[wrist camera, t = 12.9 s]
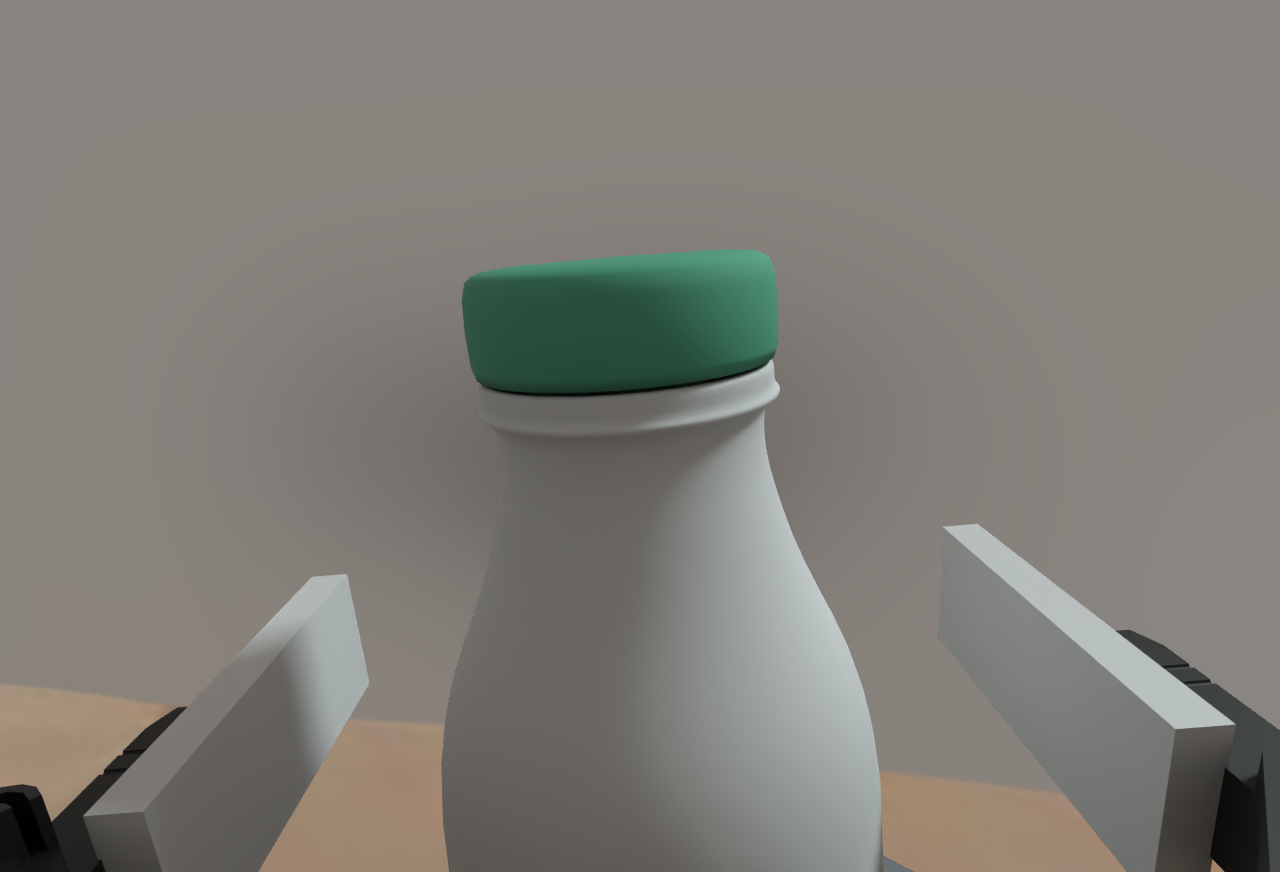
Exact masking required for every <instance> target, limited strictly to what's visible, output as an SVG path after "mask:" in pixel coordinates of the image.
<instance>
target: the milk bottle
mask: <svg viewBox="0 0 1280 872" xmlns="http://www.w3.org/2000/svg"><path fill="white" fill-rule="evenodd" d="M462 307H463V319H464V329H465V338H466V343H467V349H468V354H469V360H470V365H471V369H472V371H473V373H474V375H475V378H476V380H477V382H479V383H480V386H479V395H480V406H479V408H478V410H477V416H478V418H479V420H480V421H481V422H482V423H483V424H484V425H486V426H488V427H490V428H492V429H493V430H494V431H495V434H496V437H497V441H498V447H499V453H500V467H501V477H500V493H499V502H498V510H497V517H496V524H495V531H494V537H493V542H492V547H491V552H490V557H489V562H488V566H487V570H486V574H485V578H484V582H483V585H482V589H481V592H480V595H479V598H478V601H477V604H476V607H475V610H474V613H473V616H472V619H471V623H470V626H469V628H468V632H467V634H466V637H465V640H464V643H463V647H462V650H461V654H460V657H459V661H458V664H457V668H456V671H455V675H454V678H453V682H452V686H451V691H450V697H449V702H448V708H447V714H446V720H445V729H444V741H443V753H442V800H443V826H444V834H445V841H446V849H447V856H448V864H449V872H884V871H883V844H882V818H881V792H880V776H879V769H878V762H877V755H876V749H875V741H874V734H873V729H872V724H871V719H870V715H869V711H868V707H867V703H866V699H865V695H864V691H863V687H862V685H861V682H860V679H859V676H858V673H857V670H856V668H855V665H854V662H853V659H852V657H851V654H850V651H849V648H848V646H847V644H846V642H845V639H844V637H843V635H842V633H841V631H840V629H839V627H838V625H837V623H836V621H835V619H834V616H833V615H832V613H831V611H830V609H829V607H828V605H827V604H826V602H825V600H824V598H823V596H822V594H821V592H820V590H819V588H818V586H817V584H816V583H815V581H814V579H813V577H812V575H811V573H810V571H809V569H808V567H807V565H806V563H805V561H804V559H803V557H802V555H801V552H800V550H799V548H798V546H797V544H796V542H795V539H794V537H793V535H792V532H791V529H790V527H789V524H788V521H787V519H786V516H785V514H784V511H783V508H782V505H781V502H780V499H779V496H778V493H777V490H776V486H775V483H774V480H773V476H772V473H771V470H770V466H769V461H768V456H767V452H766V445H765V436H764V414H765V408H766V406H767V405H769V404H770V403H771V402H773V401H774V400H775V398H776V397H777V396H778V394H779V391H780V387H779V385H778V383H777V382H776V381H775V379H774V364H773V362H772V358H773V357H774V355H775V351H776V348H777V343H778V304H777V289H776V276H775V272H774V269H773V266H772V262H771V259H770V258H769V257H768V256H767V255H765V254H764V253H761V252H758V251H754V250H710V251H694V252H680V253H665V254H649V255H635V256H619V257H608V258H597V259H587V260H577V261H566V262H556V263H546V264H535V265H524V266H515V267H506V268H500V269H495V270H489V271H484V272H480V273H478V274H476V275H473V276H471V277H470V278H469V279H468V280H467V281H466V282H465V283H464V289H463V296H462Z"/></svg>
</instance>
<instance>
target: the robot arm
mask: <svg viewBox="0 0 1280 872" xmlns="http://www.w3.org/2000/svg"><path fill="white" fill-rule="evenodd" d="M939 608H940V609H939V631H938V638H939V640H940V641H941V642H942V643H943V645H944V646H945V647H946V648H947V650H948V651H949V652H950V653H951V654H952V656H953V657H954V658H955V659H956V660H957V662H958V663H959V664H960V666H961V667H962V668H963V669H964V671H965V672H966V673H967V674H968V675H969V677H970V678H971V679H972V680H973V682H974V683H975V684H976V685H977V687H978V688H979V689H980V690H981V691H982V693H983V694H984V695H985V697H986V698H987V699H988V700H989V702H990V703H991V704H992V705H993V706H994V708H995V709H996V710H997V711H998V712H999V714H1000V715H1001V716H1002V717H1003V719H1004V720H1005V721H1006V722H1007V723H1008V725H1009V726H1010V727H1011V729H1012V730H1013V731H1014V732H1015V734H1016V735H1017V736H1018V737H1019V739H1020V740H1021V741H1022V742H1023V744H1024V745H1025V746H1026V747H1027V748H1028V750H1029V751H1030V752H1031V753H1032V755H1033V756H1034V757H1035V758H1036V760H1037V761H1038V762H1039V763H1040V765H1041V766H1042V767H1043V768H1044V770H1045V771H1046V772H1047V773H1048V774H1049V776H1050V777H1051V778H1052V779H1053V781H1054V782H1055V783H1056V784H1057V785H1058V787H1059V788H1060V789H1061V791H1062V792H1063V793H1064V794H1065V796H1066V797H1067V798H1068V799H1069V800H1070V802H1071V803H1072V804H1073V805H1074V807H1075V808H1076V809H1077V810H1078V812H1079V813H1080V814H1081V815H1082V817H1083V818H1084V819H1085V820H1086V821H1087V823H1088V824H1089V825H1090V826H1091V828H1092V829H1093V830H1094V831H1095V833H1096V834H1097V835H1098V836H1099V838H1100V839H1101V840H1102V841H1103V842H1104V844H1105V845H1106V846H1107V847H1108V849H1109V850H1110V851H1111V852H1112V854H1113V855H1114V856H1115V857H1116V859H1117V860H1118V861H1119V862H1120V864H1121V865H1122V866H1123V867H1124V868H1125V870H1126V871H1127V872H1210V870H1211V864H1212V859H1213V860H1214V861H1215V862H1216V863H1217V864H1218V865H1219V866H1220V867H1221V868H1222V869H1223V870H1224V871H1225V872H1280V730H1278V729H1277V728H1276V727H1274V726H1273V725H1272V724H1270V723H1269V722H1267V721H1266V720H1265V719H1263V718H1262V717H1261V716H1259V715H1258V714H1257V713H1255V712H1254V711H1252V710H1251V709H1250V708H1248V707H1247V706H1246V705H1244V704H1243V703H1242V702H1240V701H1239V700H1237V699H1236V698H1235V697H1233V696H1232V695H1230V694H1229V693H1228V692H1227V691H1225V690H1224V689H1222V688H1221V687H1220V686H1218V685H1217V684H1212V683H1211V682H1210V679H1209V678H1207V677H1206V676H1204V675H1203V674H1202V673H1201V672H1199V671H1198V670H1197V669H1195V668H1190V667H1189V664H1188V663H1187V662H1186V661H1184V660H1183V659H1181V658H1180V657H1179V656H1177V655H1176V654H1175V653H1173V652H1172V651H1171V650H1169V649H1168V648H1166V647H1165V646H1164V645H1162V644H1159V643H1157V642H1155V641H1153V640H1151V639H1149V638H1146V637H1144V636H1142V635H1140V634H1137V633H1135V632H1133V631H1131V630H1121V631H1115V630H1113V629H1112V628H1111V627H1110V626H1108V625H1107V624H1106V623H1104V622H1103V621H1102V620H1101V619H1099V618H1098V617H1097V616H1095V615H1094V614H1093V613H1091V612H1090V611H1089V610H1087V609H1086V608H1085V607H1084V606H1082V605H1081V604H1080V603H1079V602H1077V601H1076V600H1075V599H1073V598H1072V597H1071V596H1069V595H1068V594H1067V593H1066V592H1064V591H1063V590H1062V589H1060V588H1059V587H1058V586H1057V585H1055V584H1054V583H1053V582H1052V581H1050V580H1049V579H1047V578H1046V577H1045V576H1044V575H1043V574H1041V573H1040V572H1039V571H1037V570H1036V569H1034V568H1033V567H1032V566H1031V565H1030V564H1028V563H1027V562H1026V561H1024V560H1023V559H1022V558H1020V557H1019V556H1018V555H1017V554H1015V553H1014V552H1013V551H1012V550H1010V549H1009V548H1008V547H1006V546H1005V545H1004V544H1002V543H1001V542H1000V541H999V540H997V539H996V538H995V537H994V536H992V535H991V534H990V533H988V532H987V531H986V530H984V529H983V528H982V527H981V526H979V525H978V524H972V525H960V526H947V527H943V533H942V557H941V581H940V606H939ZM368 685H369V680H368V675H367V670H366V665H365V661H364V655H363V650H362V646H361V641H360V636H359V631H358V626H357V621H356V616H355V611H354V607H353V602H352V597H351V592H350V587H349V582H348V577H347V574H344V575H331V576H318V577H312V578H311V579H310V580H309V581H308V582H307V583H306V584H305V585H304V586H303V587H302V588H301V589H300V590H299V591H298V592H297V593H296V594H295V595H294V596H293V598H291V600H290V601H289V602H288V603H287V604H286V605H285V606H284V607H283V608H282V609H281V610H280V611H279V612H278V613H277V614H276V615H275V616H274V617H273V618H272V619H271V620H270V622H269V623H268V624H267V625H266V626H265V627H264V628H263V629H262V630H261V631H260V632H259V633H258V634H257V635H256V636H255V637H254V638H253V639H252V640H251V641H250V642H249V643H248V644H247V645H246V646H245V648H244V649H243V650H242V651H241V652H240V653H239V654H238V655H237V656H236V657H235V658H234V659H233V660H232V661H231V662H230V663H229V664H228V665H227V666H226V667H225V668H224V669H223V671H222V672H221V673H220V674H219V675H218V676H217V677H216V678H215V679H214V680H213V681H212V682H211V683H210V684H209V685H208V686H207V687H206V688H205V689H204V690H203V692H201V693H200V695H199V696H198V697H197V698H196V699H195V700H194V701H193V702H192V703H191V704H190V705H189V706H188V707H180V708H176V709H174V710H173V711H171V712H170V713H168V714H167V715H165V716H164V717H162V718H161V719H159V720H158V721H156V722H155V723H153V724H152V725H150V726H149V727H147V728H146V729H145V730H144V731H143V732H142V733H141V734H140V735H139V736H138V737H137V738H136V739H135V740H134V741H133V742H132V743H131V744H130V745H129V746H128V747H127V748H126V749H125V750H124V751H123V755H120V756H117V757H116V758H115V759H114V760H113V761H112V762H111V763H110V764H109V765H108V766H107V767H106V768H105V769H104V774H103V775H98V776H97V777H96V778H95V779H94V780H93V781H92V782H91V783H90V784H89V785H88V786H87V787H86V788H85V789H84V790H83V791H82V792H81V793H80V794H79V795H78V796H77V797H76V798H75V799H74V800H73V801H72V802H71V803H70V804H69V805H68V806H67V807H66V808H65V809H64V810H63V811H62V812H61V813H60V814H59V815H58V816H57V817H56V818H55V819H54V820H53V821H52V822H51V820H50V817H49V814H48V811H47V809H46V806H45V803H44V800H43V798H42V795H41V793H40V792H39V790H38V789H37V787H34V786H29V785H23V784H21V785H14V786H7V787H1V788H0V872H258V871H259V869H260V868H261V866H262V864H263V863H264V861H265V859H266V857H267V856H268V854H269V852H270V851H271V849H272V847H273V846H274V844H275V842H276V841H277V839H278V837H279V835H280V834H281V832H282V830H283V829H284V827H285V825H286V824H287V822H288V820H289V819H290V817H291V815H292V813H293V812H294V810H295V808H296V807H297V805H298V803H299V802H300V800H301V798H302V796H303V795H304V793H305V791H306V790H307V788H308V786H309V785H310V783H311V781H312V780H313V778H314V776H315V774H316V773H317V771H318V769H319V768H320V766H321V764H322V763H323V761H324V759H325V758H326V756H327V754H328V752H329V751H330V749H331V747H332V746H333V744H334V742H335V741H336V739H337V737H338V736H339V734H340V732H341V730H342V729H343V727H344V725H345V724H346V722H347V720H348V719H349V717H350V715H351V713H352V712H353V710H354V708H355V707H356V705H357V703H358V702H359V700H360V698H361V697H362V695H363V693H364V691H365V690H366V688H367V686H368Z"/></svg>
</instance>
